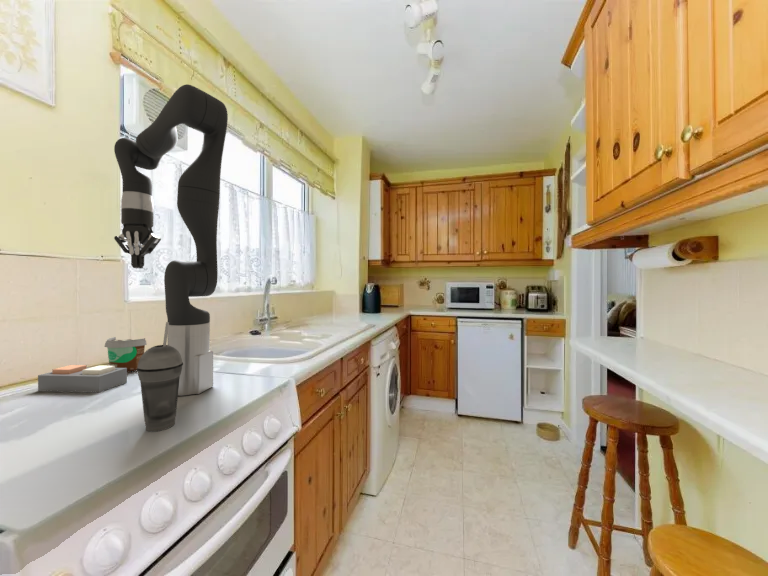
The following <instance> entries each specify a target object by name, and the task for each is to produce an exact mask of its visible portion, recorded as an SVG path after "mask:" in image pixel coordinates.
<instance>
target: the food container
mask: <svg viewBox="0 0 768 576" xmlns="http://www.w3.org/2000/svg"><path fill="white" fill-rule="evenodd" d="M147 344H148V343H147V340H146V338H138V339H132V338H131V339H130V338H129V339H117V338H116V336H113V337H108V338H107V339H106V341H105V343H104V347H105V348H107V355H108V357H107V358H108V366H115V368H127V373H132V372H131V371H133V372H137V371H136V370H137V367H138V363H139V360H140V358H141V356H142V355H143V354H144V353H145V346H147Z"/></svg>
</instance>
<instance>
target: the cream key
mask: <svg viewBox="0 0 768 576" xmlns="http://www.w3.org/2000/svg"><path fill="white" fill-rule="evenodd" d="M91 367H92V368H88V369H84V370H82V375H101V374H104V373H107V372H111V371H114V370H115V366H109V365H95V366H91Z"/></svg>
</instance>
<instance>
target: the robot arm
mask: <svg viewBox="0 0 768 576" xmlns="http://www.w3.org/2000/svg"><path fill="white" fill-rule="evenodd" d="M228 114H229V113H228V110H227V107H226V105H225V104H224V102H222V100H219V99H218V98H216V97H215V96H213V95H211V94H209V93H207V92H206V91H204V90H201V89H200V88H199V87H196V86H194V85H191V84H183V85H181V86H180V87H178V88H177V89H176V90H175V91H174V92H173V94H172V95H171V97H170V98H169V99H168V100H167V102H166V103H165V105H164V107H163V108H162V109H161V111H160V112H159V114H158V115H157V116H156V118H155V119H154V121H153V122H152V123H151V124H150V125H148V126H147V127H146V128H144V130H142V131H141V132H140V133H138V135H137V136H136V138H135V140H133V139H130V138H126V137H121V138H119V139H117V141H116V142H115V143H114V146H113V147H114V149H113V150H114V155H115V156H114V157H115V158H116V163H117V164H118V167H119V170H120V173H121V179H122V194H121V206H120V208H121V214H120V215H121V217H120V218H121V219H120V222H121V224H122V226H123V228H122V230H121V234H119V235H115V236H114V237H113V239H114V241H115V242H116V243H117V244H118V246H119V247H120V249H121V251H123V252H124V253H126V254H129V255H130V259H131V261H130V262H131V263H130V264H131V266H132V268H133V269H143V268H144V266H145V256H146V255H148V254H149V255H150V254H152V252H153V251H154V249H155V248H156V247H157V246H158V245H159V243H160V242H161V240H162V238H161V237H160V236H157V235H155V234H154V230H153V227H154V199H153V191H154V189H153V184H154V183H153V180H152V179H151V177H149V176H148V175H146V174H144V173H142V172H140V171H139V170H138V169H137V168H139V169H143V170H148V171H151V170H153V171H154V170H156V169H157V168H158V167H159V165H160V163H161V160H163V159H162V158H163V157H164V156H165V155H167V154H168V153H169V152H171V151H173V149H175V147H176V145H177V144H178V141H179V136H178V131H177V126H180V125H185V126H186V127H188V128H190V129H193V130H196V131H198V132H200V133H202V134H203V141H202V147H201V149H200V152H199V154H198V156H197V157H196V158H195V159H194V161H193V162H192V163H190V165H189V166H188V167H187V168H186V169H185V170H184V171H182V172H183V173H181V175H180V177H179V178H178V183H177V199H176V206H177V207H176V208H177V211H178V213H179V215H180V217H181V219H182V221H183V223H184V224H185V227H187V229H188V231H189V233H190V235H191V236H192V239H193V241H194V242H193V243H194V245H195V250H196V251H195V252H196V260H195V261H194V260H181V259H180V260H177V259H176V260H172V261H169V262H168V264H167V265H166V267H165V269H164V270H165V271H164V280H163V281H164V282H163V283H164V298H165V313H166V318H167V322H169V327H168V335H167V343H166V345H169V346H172V347H174V348H175V349H177V350H178V351H179V353H180V355H181V357H182V362H183V365H182V371H181V375H180V379H179V389H178V396H188V395H189V396H190V395H195V394H196V395H199V394H202V393H204V392H205V391H207V390H208V389H210V388H212V387H214V351H213V350H210V349H211V348H210V346H211V345H210V341H211V339H210V337H211V335H210V334H211V333H210V331H211V329H210V328H211V323H210V322H211V315H210V312H209V311H207V310H204V309H201V308H198V307H196V306H194V305H193V304H191V302H190V298H191V297H192V298H193V297H194V298H195V297H197V298H198V297H209V296H211V295H213V294H214V292H215V291H216V288H217V286H218V279H219V278H218V276H219V275H218V274H219V273H218V272H219V271H218V247H217V246H218V245H217V244H218V243H217V238H218V223H219V221H218V220H219V212H220V211H219V209H220V198H221V197H220V195H221V192H220V191H221V172H222V162H223V154H224V150H225V149H224V148H225V141H226V135H227V129H228V120H229V119H228V117H229V115H228Z"/></svg>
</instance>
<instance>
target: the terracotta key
mask: <svg viewBox="0 0 768 576" xmlns="http://www.w3.org/2000/svg"><path fill="white" fill-rule="evenodd" d="M87 367H88V366H87V365H86V364H70V365H65V366H61V367H57V368H53V369H52V371H51V372H52V374H72V373H76V372H80V371H82V370H84V369H87Z"/></svg>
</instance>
